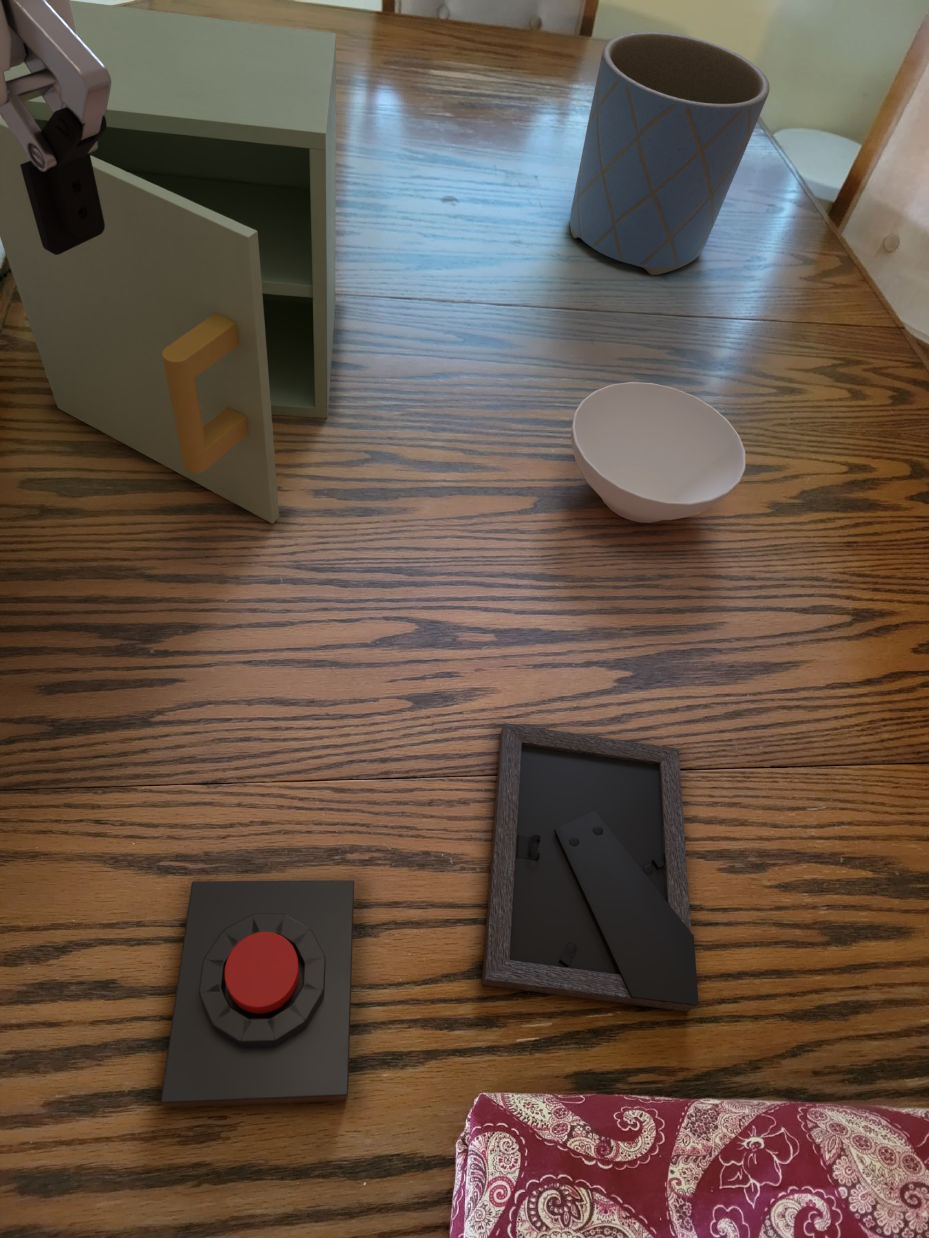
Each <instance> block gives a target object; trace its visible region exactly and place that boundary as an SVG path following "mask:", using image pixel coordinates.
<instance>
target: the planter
mask: <svg viewBox="0 0 929 1238" xmlns="http://www.w3.org/2000/svg"><path fill="white" fill-rule="evenodd" d="M770 87H771V86H770V82H769V80H768V77H767V76H766V75H765V74H764V72H763V71H762V70H761V69H760V68H759V67H758V66H756V65H755V63H753V62H751V61H750V60H748V59H747V58H746V57H744V56H742V55H741V54H738V53H736V52H735V51H733V50H731V49H728V48H726V47H724V46H721V45H718V44H715V43H713V42H710V41H707V40H703V39H700V38H696V37H692V36H689V35H683V34H679V33H671V32H662V31H661V32H660V31H637V32H629V33H624V34H621V35H618V36H614V37H613V38H611V39H610V40H609V41H607V42H606V44H605V45H604V47H603V49H602V52H601V57H600V62H599V67H598V72H597V77H596V82H595V85H594V91H593V97H592V101H591V106H590V111H589V114H588V122H587V126H586V131H585V135H584V142H583V147H582V153H581V157H580V162H579V167H578V172H577V177H576V183H575V188H574V193H573V198H572V203H571V209H570V219H569V220H570V222H569V227H570V233H571V236H572V237H573V239H581V240H582V241H583V242H584V243H585V244H586V245H588V246H589V247H591V248H592V249H593V250H595V251H597V252H599V253H600V254H602V255H604V256H605V257H609V258H611V259H613V260H616V261H618V262H622V263H625V264H628V265H632V266H636V267H639V268H643V269H645V270H646V272H647V273H648V274H649V275H650V276H659V275H662V274H665V273H670V272H672V271H675V270H678V269H681V268H682V267H685V266H686V265H689V264H690V263H692V262H694V261H695V260H696V259H697V258H698V257H699V256H700V255H701V253H702V252H703V250H704V249H705V246H706V244H707V242H708V240H709V239H710V238H709V237H710V235H711V233H712V231H713V228H714V226H715V223H716V221H717V218H718V216H719V213H720V211H721V209H722V206H723V204H724V201H725V199H726V197H727V195H728V193H729V190H730V188H731V185H732V184H733V183H732V182H733V180H734V178H735V176H736V174H737V171H738V169H739V167H740V164H741V162H742V159H743V157H744V155H745V152H746V150H747V147H748V145H749V142H750V141H751V138H752V136H753V133H754V131H755V128H756V126H757V123H758V121H759V118H760V116H761V113H762V111H763V108H764V106H765V103H766V101H767V99H768V97H769V93H770Z"/></svg>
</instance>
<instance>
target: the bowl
mask: <svg viewBox="0 0 929 1238" xmlns="http://www.w3.org/2000/svg"><path fill="white" fill-rule="evenodd" d="M570 432H571V433H570V441H571V447H572V452H573V456H574V462H575V463H576V465H577V467H578V469H579V471H580V473H581V474H582V476H583V478H584V479H585V481H586V483H587V484H588V485H589V486H590V487H591V489H593V490H594V492H596V494H597V495H598V496H599V497H600V498H601V500H602V502H603V503H604V505H606V506H607V508H608V509H609V510H611V511H612V512H614V513H615V514H616V515H617V516H619V517H621V518H624V519H626V520H629V521H632V522H636V523H645V524H651V523H657V522H661V521H674V520H678V519H683V518H684V519H685V518H689V517H693V516H696V515H698V514H701V513H703V512H705V511H708V510H710V509H712V508H714V507H716V506H717V505H719V504H720V503H721V502H723V501H724V500H725V499H726V498H727V497H728V496H729V495H730V494H731V493H732V492H733V491H734V490H735V489H736V488H737V486H738V485H739V484H740V483H741V480H742V478H743V475H744V472H745V471H746V450H745V447H744V444H743V442H742V439H741V436H740V435H739V433H738V432H737V431H736V429H735V428H734V426H733V425H732V424H731V422H730V421H729V420H728V419H727V418H726V417H724V415H722V414H721V413H720V412H719V411H718V410H717V409H716V408H715V407H714V406H711V405H710V404H708V403H707V402H705V401H704V400H702V399H700V398H699V397H697V396H696V395H692V394H691V393H688V392H685V391H682V390H681V389H678V388H675V387H672V386H666V385H663V384H657V383H653V382H642V381H641V382H639V381H629V382H620V383H613V384H609V385H607V386H604V387H602V388H599V389H596V390H594V391H593V392H592V393H591V394H589V395H588V396H586V397H585V398H584V399H582V400H581V402H580V403H579V405H578V407H577V408H576V410H575V411H574V413H573V418H572V423H571V431H570Z"/></svg>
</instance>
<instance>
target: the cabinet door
mask: <svg viewBox="0 0 929 1238" xmlns="http://www.w3.org/2000/svg"><path fill="white" fill-rule="evenodd" d="M90 157H91V161H92V166H93V171H94V176H95V180H96V185H97V190H98V195H99V199H100V204H101V209H102V214H103V218H104V223H105V228H104V231H103V233H102V234H100V235H98V236H96V237H94V238H92V239H90V240H88V241H86V242H84V243H82V244H80V245H78V246H76V247H74V248H71V249H69V250H67V251H65V252H63V253H61V254H59V255H55V254H53V253H51V252H49V251H47V250H46V249H44V248H43V245H42V242H41V239H40V235H39V232H38V228H37V224H36V221H35V217H34V214H33V210H32V207H31V203H30V199H29V196H28V192H27V189H26V185H25V181H24V178H23V174H22V170H21V166H20V164H23V163H25V162H28V161H30V159H29V158H28V156H27V155H26V153H25V152H24V150H23V149H22V147H21V145H20V144H19V142H18V141H17V139H16V138H15V136H14V135H13V133H12V132H11V130H10V129H9V127H8V126H7V124H6V123H5V121H4V119H3V118H2V116H1V115H0V241H1V244H2V247H3V250H4V253H5V256H6V259H7V262H8V265H9V267H10V270H11V274H12V277H13V279H14V283H15V287H16V289H17V292H18V294H19V297H20V301H21V304H22V306H23V309H24V312H25V315H26V318H27V321H28V324H29V328H30V330H31V333H32V336H33V339H34V342H35V344H36V349H37V351H38V353H39V357H40V360H41V362H42V367H43V370H44V372H45V374H46V379H47V380H48V384H49V387H50V389H51V393H52V395H53V398H54V402H55V404H56V408H57V409H59V410H61V411H62V412H64V413H66V414H68V415H69V416H71V417H73V418H76V419H77V420H79V421H81V422H83V423H85V424H87V425H89V426H90V427H92V428H94V429H96V430H98V431H100V432H101V433H103V434H105V435H106V436H109V437H110V438H112V439H115V440H116V441H118V442H120V443H121V444H123V445H125V446H127V447H130V448H131V449H133V450H135V451H137V452H138V453H140V454H142V455H143V456H146V457H147V458H150V459H151V460H154V461H155V462H157V463H159V464H161V465H163V466H164V467H166V468H168V469H170V470H172V471H174V472H176V473H177V474H179V475H181V476H183V477H185V478H187V479H189V480H190V481H192V482H194V483H195V484H198V485H199V486H201V487H204V488H205V489H207V490H209V491H210V492H213V493H214V494H216V495H218V496H219V497H221V498H223V499H226V500H227V501H229V502H231V503H233V504H234V505H236V506H239V507H241V509H244V510H246V511H248V512H250V513H252V514H253V515H255V516H257V517H259V518H261V519H263V520H265V521H266V522H268V523H270V524H271V525H273V524H274V523H275V522H276V521H277V520H278V519H279V518H280V509H279V507H280V506H279V495H278V482H277V467H276V455H275V445H274V430H273V429H274V428H273V417H272V416H273V415H271V402H270V389H269V375H268V362H267V349H266V336H265V323H264V310H263V297H262V284H261V270H260V257H259V244H258V232H257V231H256V230H254V229H252V228H249V227H247V226H245V225H243V224H241V223H238V222H236V221H234V220H232V219H230V218H227V217H225V216H223V215H221V214H219V213H216V212H214V211H212V210H210V209H208V208H205V207H203V206H201V205H199V204H197V203H194V202H192V201H190V200H188V199H186V198H183V197H181V196H179V195H177V194H175V193H172V192H170V191H168V190H166V189H164V188H161V187H159V186H157V185H155V184H153V183H150V182H148V181H146V180H144V179H142V178H139V177H137V176H135V175H133V174H131V173H128V172H126V171H124V170H122V169H120V168H117V167H115V166H113V165H111V164H109V163H106V162H104V161H102V160H100V159H98V158H95V157H93V156H91V155H90Z"/></svg>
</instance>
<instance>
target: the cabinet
mask: <svg viewBox="0 0 929 1238" xmlns="http://www.w3.org/2000/svg"><path fill="white" fill-rule="evenodd" d="M70 2H71V6H72V10H73V15H74V19H75V24H76V28H77V33H78V37H79V38H80V39H81V40H82V41H83V42H84V44H85V45H86V46H87V47H88V48H89V49H90V50H91V51H92V52H93V54H94V55H95V56H96V57H97V58H98V59H99V60H100V61H101V62H102V63H103V65H104V66H105V67H106V69H107V70H108V72H109V75H110V78H111V89H110V94H109V99H108V104H107V109H106V114H105V115H104V116H105V118H106V123H107V125H106V130H105V131H104V133H103V134H102V135H101V136H100V138H99V139H98V140H97V142H98V148H97V150H96V151H94V152H91V153H90V155H91V156H93V157H95V158H98V159H100V160H102V161H104V162H106V163H109V164H111V165H113V166H115V167H117V168H120V169H122V170H124V171H126V172H128V173H131V174H133V175H135V176H137V177H139V178H142V179H144V180H146V181H148V182H150V183H153V184H155V185H157V186H159V187H161V188H164V189H166V190H168V191H170V192H172V193H175V194H177V195H179V196H181V197H183V198H186V199H188V200H190V201H192V202H194V203H197V204H199V205H201V206H203V207H205V208H208V209H210V210H212V211H214V212H216V213H219V214H221V215H223V216H225V217H227V218H230V219H232V220H234V221H236V222H238V223H241V224H243V225H245V226H247V227H249V228H252V229H254V230H256V231H257V232H258V244H259V257H260V270H261V284H262V297H263V310H264V323H265V336H266V349H267V362H268V375H269V389H270V402H271V415H272V416H273V415H274V416H285V417H286V416H287V417H303V418H317V419H318V418H319V419H328V418H329V406H330V391H331V378H332V365H333V352H334V351H333V350H334V338H335V337H334V336H335V335H334V334H335V322H336V321H335V320H336V289H337V288H336V279H337V278H336V276H337V275H336V273H337V272H336V269H337V267H336V265H337V264H336V259H337V258H336V256H337V255H336V248H337V247H336V243H337V241H336V239H337V238H336V233H337V231H336V230H337V229H336V228H337V225H336V224H337V221H336V219H337V218H336V216H337V215H336V214H337V170H336V169H337V33H336V32H328V31H320V30H312V29H304V28H296V27H288V26H279V25H272V24H265V23H264V24H263V23H255V22H247V21H239V20H233V19H232V20H231V19H224V18H216V17H208V16H200V15H199V16H198V15H191V14H183V13H176V12H168V11H167V12H166V11H160V10H151V9H143V8H135V7H127V6H120V5H111V4H105V3H95V2H87V1H77V0H70ZM30 73H31V72H30V71H29V69H28V67H27V66H26V64H25V63H23V62H22V64H21V65H18V66H15V67H12V68H10V70H9V71H5V72H4V77H5V80H6V81H8V80H11V79H14V78H18V77H21V76H24V75H27V74H30ZM42 96H43V95H42ZM42 96H39V97H37V98H34V99H31V100H28V101H25V102H23V103H24V104H25V106H26V107H27V109H28V111H29V112H30V114H31V115H32V117H33V118H34V120H35V122H36V123H37V125H38V126H39V128H40V129H41V131H42V130H43V128H44V127H45V125H46V124H47V122H48V121H49V119H50V118H51V116H52V115H53V113H52V111H51V110H50V108H49V107H48V105H47V103H46V102H45V100H44V99H43V97H42Z"/></svg>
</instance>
